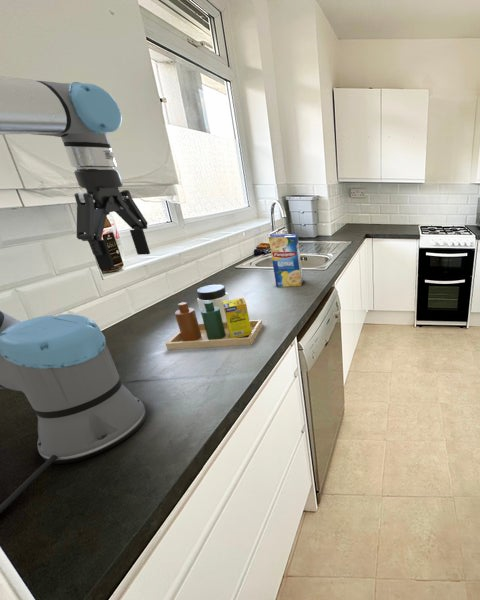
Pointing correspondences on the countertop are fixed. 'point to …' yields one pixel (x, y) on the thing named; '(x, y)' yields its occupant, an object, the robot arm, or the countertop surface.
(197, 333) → the amber bottle
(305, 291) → the countertop surface
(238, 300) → the supplement box
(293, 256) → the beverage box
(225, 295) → the jar
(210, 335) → the green bottle
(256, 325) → the tray
